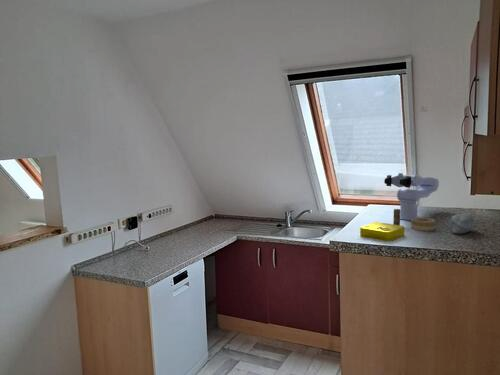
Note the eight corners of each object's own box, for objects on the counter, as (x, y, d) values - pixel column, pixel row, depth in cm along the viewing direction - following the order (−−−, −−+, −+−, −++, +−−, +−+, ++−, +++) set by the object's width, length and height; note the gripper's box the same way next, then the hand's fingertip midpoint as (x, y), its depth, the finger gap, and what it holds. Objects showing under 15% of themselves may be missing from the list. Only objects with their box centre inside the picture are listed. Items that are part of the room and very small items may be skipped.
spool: (454, 220, 196) (463, 204, 190) (473, 231, 191) (483, 215, 184) (440, 231, 188) (448, 215, 182) (459, 244, 183) (469, 227, 177)
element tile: (406, 235, 184) (406, 225, 183) (389, 242, 174) (389, 231, 173) (375, 230, 195) (375, 220, 194) (358, 236, 185) (358, 226, 184)
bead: (416, 224, 202) (416, 216, 202) (437, 227, 196) (437, 219, 195) (408, 228, 195) (408, 220, 195) (429, 231, 188) (430, 223, 188)
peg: (394, 224, 204) (395, 208, 203) (400, 225, 202) (401, 209, 201) (392, 225, 202) (392, 209, 201) (398, 226, 200) (398, 210, 199)
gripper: (390, 172, 214) (379, 172, 204) (418, 173, 204) (407, 174, 195) (390, 185, 215) (378, 186, 205) (418, 188, 205) (407, 188, 195)
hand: (392, 181), depth 200 cm, fingers open, 7 cm apart
